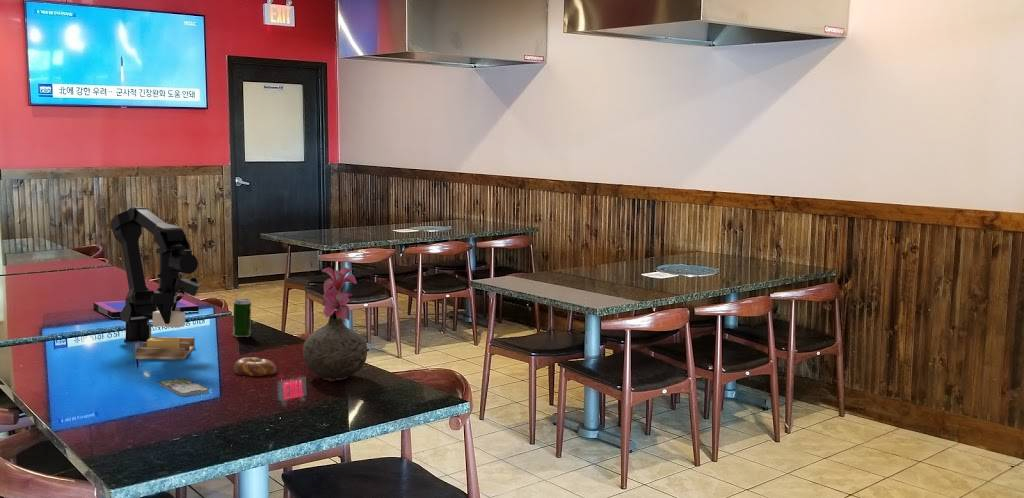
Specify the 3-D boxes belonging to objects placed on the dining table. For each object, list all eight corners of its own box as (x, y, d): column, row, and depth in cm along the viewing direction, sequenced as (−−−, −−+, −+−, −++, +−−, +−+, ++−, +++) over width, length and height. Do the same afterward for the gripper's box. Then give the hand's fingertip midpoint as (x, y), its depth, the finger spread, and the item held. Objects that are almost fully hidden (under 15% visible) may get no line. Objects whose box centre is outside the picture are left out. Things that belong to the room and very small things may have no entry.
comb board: (135, 358, 248) (135, 348, 248) (149, 346, 264) (149, 336, 263) (183, 359, 250) (183, 349, 250) (194, 347, 266) (194, 337, 265)
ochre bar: (147, 354, 251) (147, 340, 250) (150, 351, 254) (150, 337, 254) (176, 354, 252) (176, 340, 251) (179, 351, 256) (179, 338, 255)
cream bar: (152, 325, 258) (152, 312, 258) (159, 323, 262) (159, 310, 262) (178, 327, 257) (178, 314, 257) (185, 325, 261) (185, 312, 261)
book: (93, 302, 317) (177, 297, 336) (93, 310, 317) (177, 304, 337) (112, 312, 301) (198, 305, 321) (112, 320, 301) (198, 314, 321)
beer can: (235, 338, 281) (236, 301, 279) (231, 335, 285) (231, 298, 284) (252, 337, 284) (253, 300, 282) (247, 334, 288) (248, 298, 287)
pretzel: (285, 371, 244) (286, 358, 243) (261, 380, 234) (261, 366, 233) (250, 365, 248) (250, 352, 248) (224, 373, 238) (224, 360, 238)
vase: (311, 388, 227) (314, 272, 224) (295, 372, 242) (297, 264, 239) (373, 383, 235) (377, 271, 232) (354, 368, 250) (357, 263, 247)
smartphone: (184, 378, 229) (210, 389, 218) (184, 382, 229) (210, 393, 219) (156, 382, 224) (181, 393, 213) (156, 386, 224) (181, 398, 213)
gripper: (192, 275, 250) (191, 329, 252) (204, 266, 268) (203, 316, 270) (151, 273, 248) (150, 328, 250) (165, 265, 267) (165, 316, 268)
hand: (169, 322), depth 260 cm, fingers closed on cream bar, 5 cm apart
